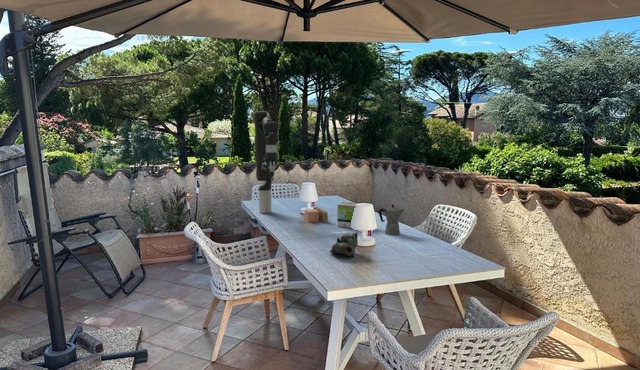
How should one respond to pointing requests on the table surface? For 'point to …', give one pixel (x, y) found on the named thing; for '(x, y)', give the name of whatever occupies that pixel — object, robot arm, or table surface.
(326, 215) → the walnut board
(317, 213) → the terracotta block
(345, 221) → the tea box
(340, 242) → the dark binoculars
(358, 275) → the table surface
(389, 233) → the coffeepot
